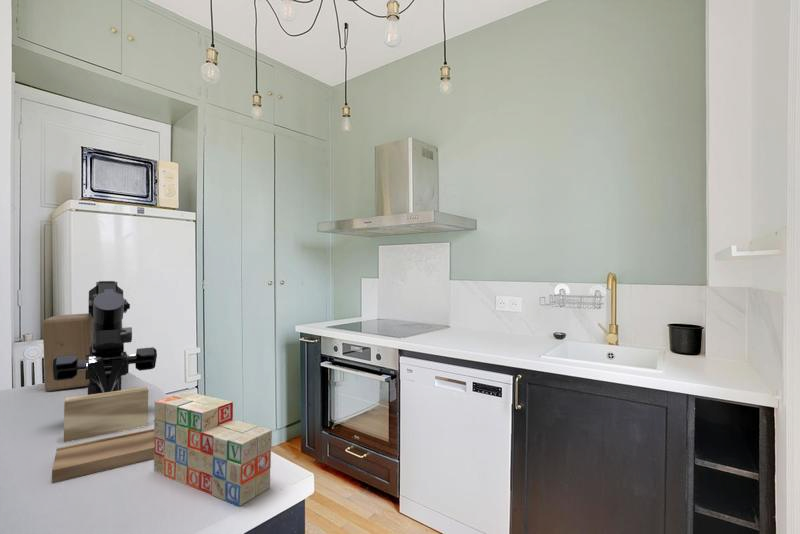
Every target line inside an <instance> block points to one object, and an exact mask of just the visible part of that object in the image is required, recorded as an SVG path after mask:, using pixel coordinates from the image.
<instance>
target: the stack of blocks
mask: <svg viewBox="0 0 800 534" xmlns="http://www.w3.org/2000/svg"><path fill="white" fill-rule="evenodd" d="M153 404H154V410H153V411H154V419H153V420H154V421H153V422H154V424H153V429H154V436H155V441H154V446H155V454H154V459H153V471H154V472H155V471H156V473H158V474H160V473H161V474H160V475H162V474H163V475H162V476H164V477H167V478H169V479H170V480H173V481H176V482H178V483H180V484H182V485H184V486H189V487H190V488H191V487H192V488H194V489H197V490H200V491H202V492H204V493H207V494H209V495H212V496H214V497H215V498H219V499H220V500H222V501H226V502H227V503H229V504H232V505H236V506H238V507H241V506H243V505H244V504H245V503H247V502H249V501H251V500H252V499H254V498H255V497H257V496H258V495H260V494H262V493H263V492H265V491H266V490H269V488H270V486H271V467H272V466H271V464H272V463H271V462H272V459H271V458H272V455H271V454H272V442H273V441H272V439H273V438H272V437H273V436H272V435H273V431H272V429H271V428H270V429H269V428H265V427H262V426H259V425H256V424H252V423H248V422H245V421H244V422H243V421H241V420H237V419H236V420H235V419H234V402H233V401H231V400H226V399H221V398H218V397H213V396H208V395H204V394H199V393H196V392H191V391H184V392H182V393H178V394H174V395H172V396H171V395H170V396H168V397H165V398H161V399H158V400H155V401H154V403H153Z"/></svg>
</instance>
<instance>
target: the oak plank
mask: <svg viewBox="0 0 800 534" xmlns="http://www.w3.org/2000/svg"><path fill="white" fill-rule="evenodd" d="M63 413H64V415H63V443H68V442H72V440H73V441H77V440H83V439H89V438H93V437H98V436H103V435H108V434H114V433H118V432H119V431H120V432H124V431H123V430H125V431H129V430H128V429H130V430H133V429H132V428H136V429H138V428H137V427H141V428H143V427H142V426H146V427H148V426H147V425H148V420H149V419H148V417H149V416H148V415H149V389H148V387H147V386H143V387H136V388H135V387H134V388H126V389H121V390H120V391H113V392H106V393H99V394H92V395H88V394H85V395H78V396H71V397H66V398H65V399H64V408H63ZM67 441H68V442H67Z"/></svg>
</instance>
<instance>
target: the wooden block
mask: <svg viewBox="0 0 800 534" xmlns="http://www.w3.org/2000/svg"><path fill="white" fill-rule="evenodd" d="M93 322H94V320H93V318H92V315H91V314H89V312H88V313H87V312H86V313H77V314H76V313H74V314H59V315H58V314H57V315H53V316H51V317H48V318H45V319H44V320H43V321H42V338H43V339H42V343H43V366H44V367H43V368H44V388H45V390H46V391H47V392H53V391H60V390H68V389H75V388H81V387H82V388H83V387H88V385H89V381H90V379H87V380H86V369H85V370H77V376H75V377H74V378H73V379H66V380H54V376H53V359H54V358H56V357H57V356H63V355H74V354H77V361H80V360H86V355H90V346H91V342H92V341H93Z"/></svg>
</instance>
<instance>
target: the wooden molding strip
mask: <svg viewBox="0 0 800 534" xmlns="http://www.w3.org/2000/svg"><path fill="white" fill-rule="evenodd" d="M154 441H155V436H154V428H150V429H144V430H141V431H136V432H131V433H130V432H129V433H124V434H120V435H115V436H109V437H104V438H100V439H94V440H90V441H85V442H80V443H74V444H69V445H64V446H59V447H56V450H55V451H56V452H55V455H54V460H53V463H52V464H53V466H52V470H51V483H52V484H53V483H57V482H62V481H65V480H70V479H73V478H78V477H81V476H86V475H91V474H96V473H99V472H100V473H101V472H103V471H107V470H112V469H116V468H119V467H120V468H121V467H125V466H130V465H133V464H137V463H140V462H141V463H142V462H146V461H149V460H154V454H155V446H154Z"/></svg>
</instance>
